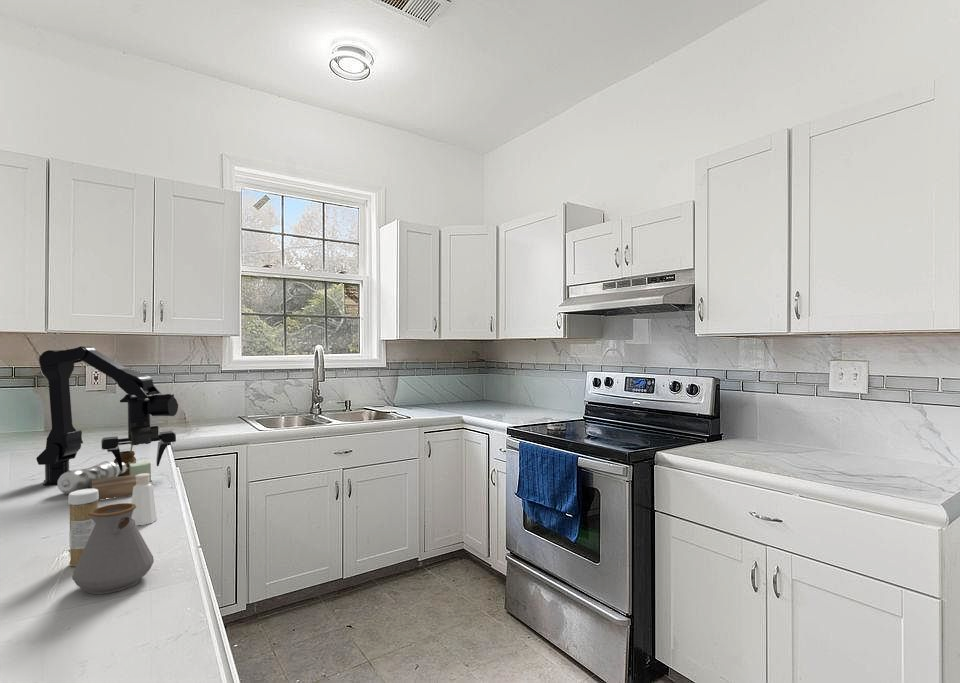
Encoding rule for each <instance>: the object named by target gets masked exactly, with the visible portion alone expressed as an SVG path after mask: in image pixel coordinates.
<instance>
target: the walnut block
mask: <svg viewBox="0 0 960 683" xmlns="http://www.w3.org/2000/svg"><path fill="white" fill-rule="evenodd" d="M134 486H136V476H135V474H134V475H127V476H117V477H112V478H104V479H96V480H92V486H91V489H97V490H98V493H99V499H98V500H100V499H106V498H113V499H115V498H114V497H120V498H122V497H121V496H127V497H130V496H129V495H132V494H133V487H134ZM100 501H101V500H100Z"/></svg>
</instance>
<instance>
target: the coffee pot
mask: <svg viewBox="0 0 960 683" xmlns="http://www.w3.org/2000/svg"><path fill="white" fill-rule="evenodd" d="M135 508H136V505H135V504H132V502H131V503H128V502H124V503H123V502H121V503H120V502H119V503H114V504H113V503H112V504H108V505H104V506H100V507H98V508H97V509H94V510H92V511H91V512H89V513H88V515H89V516H90V517H91V518H92V519H93V521H94V522H95V523H96V524H95V526H94V528H93V531H92V533H91V535H90V537H89V539H88V541H87V544H86V546H85V548H84V550H83V552H82V555H81V557H80V559H79V561H78V563H77V566H75V568H74V570H73V572H72V580H73V582H74V583H75V585H76V586H77V587H79V589H82V590H85V591H86V592H87V593H89V594H93V595H103V594H104V595H105V594H111V593H116V592H120V591H122V590H125V589H128V588H131V587H132V586H135V585H137V584H138V583H139V582H140V581H141V580H142V578H143V577H144V576H146V575H147V573H149V571H150V569H151V568H152V567H153V564H154V562H155V561H154V560H155V559H154V555H153V554H152V552H151V551H150V548H149V547H148V545H147V543H146V542H145V539H144V538H143V535H142V534H141V532H140V531H139V528H138V527H137V526H136V525H135V521H134V520H133V519H132V518H131V517H132V513H133V510H134V509H135Z"/></svg>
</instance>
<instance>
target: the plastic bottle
mask: <svg viewBox="0 0 960 683" xmlns="http://www.w3.org/2000/svg"><path fill="white" fill-rule="evenodd" d="M126 469H127V466H126V464H125V463H123V462H122V471H121V470H120V467H119V465H118V463H114V461H110V460H107V461H102V462H100V463H98V464H95V465H92V466H90V467H86V468H82V469H71V470H69V471H68V472H65V473H63V474H62V475H61V476H60V477H59V479H58V482H57V484H56V485H57V489H58V490H59V491H60V492H61V493H64V494H65V495H69V494H70V493H71V492H74V491H77V490H82V489H88V488H89V487H90V488H91V487H92V480H96V479H104V478H112V477H119V476H118V475H120V474H122V473H124V472H125V471H126Z"/></svg>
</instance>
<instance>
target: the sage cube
mask: <svg viewBox="0 0 960 683" xmlns="http://www.w3.org/2000/svg"><path fill="white" fill-rule="evenodd" d="M151 466H152V465H151V462H150V461H142V462H136V463H133V464H130V475H134V474H135V476H136V475H138V474H142V473H148V474H150V477H149V478H150V479H149V482H150V481H152V475H151V474H152V470H151V469H152V467H151Z"/></svg>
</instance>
